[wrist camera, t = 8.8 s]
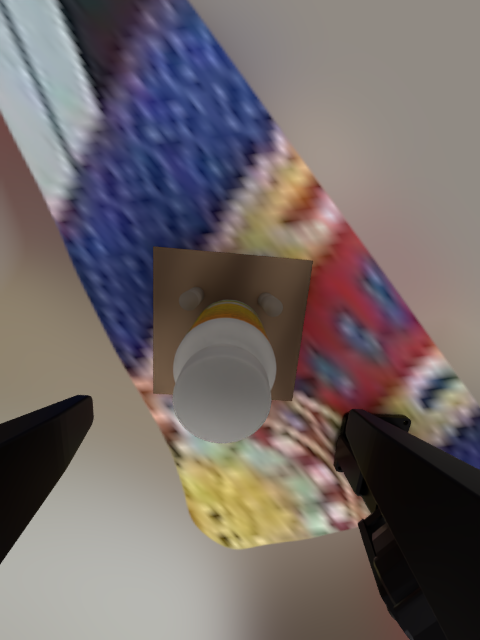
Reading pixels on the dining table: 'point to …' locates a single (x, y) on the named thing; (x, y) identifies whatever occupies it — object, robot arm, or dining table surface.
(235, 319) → the supplement bottle
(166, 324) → the peg cradle
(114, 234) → the dining table surface
